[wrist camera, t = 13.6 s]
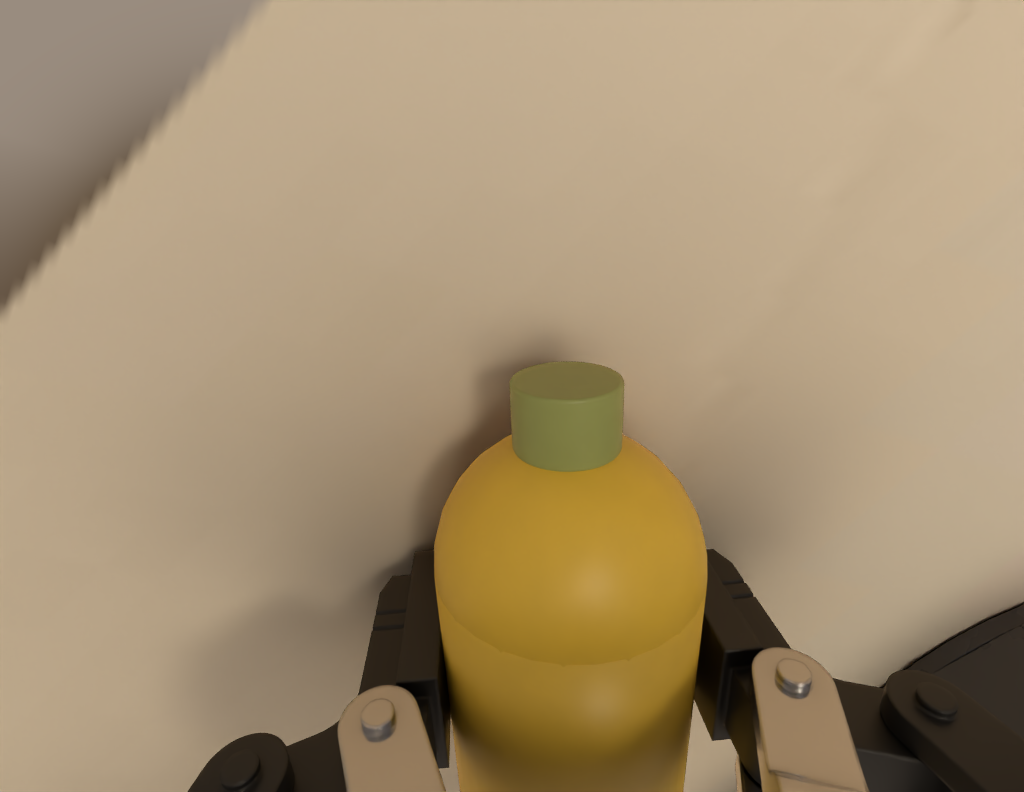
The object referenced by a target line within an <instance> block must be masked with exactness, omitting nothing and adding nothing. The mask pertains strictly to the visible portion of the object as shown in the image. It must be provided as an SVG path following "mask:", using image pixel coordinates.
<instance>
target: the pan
mask: <svg viewBox="0 0 1024 792" xmlns="http://www.w3.org/2000/svg"><path fill="white" fill-rule="evenodd" d="M906 670H917V671H923V672H927V673H930V674H933V675H935V676H938V677H940V678H942V679H944V680H947V681H948V682H950V683H952V684H953V685H955V686H957V687H958V688H960V689H961V690H962V691H964V692H965V693H966V694H968V695H969V696H970V697H971V698H973V699H974V700H975V701H976V702H978V703H979V704H980V705H981V706H983V707H984V708H985V709H987V710H988V711H989V712H990V713H992V714H993V715H994V716H995V717H997V718H998V719H999V720H1000V721H1002V722H1003V723H1004V724H1006V725H1007V726H1008V727H1009V728H1011V729H1012V730H1013V731H1014V732H1016V733H1017V734H1018V735H1019V736H1021V737H1022V738H1023V739H1024V605H1022V606H1019V607H1017V608H1015V609H1012V610H1010V611H1008V612H1005V613H1003V614H1001V615H998V616H996V617H994V618H992V619H989V620H987V621H985V622H983V623H981V624H979V625H978V626H976V627H974V628H972V629H970V630H968V631H966V632H964V633H963V634H961V635H959V636H957V637H955V638H953V639H951V640H950V641H948V642H946V643H945V644H943V645H942V646H940V647H939V648H937V649H936V650H934V651H932V652H931V653H929V654H928V655H926V656H925V657H923V658H922V659H920V660H919V661H917V662H915V663H914V664H913V665H912V666H910V667H909V668H908V669H906ZM883 688H884V689H885V687H883Z"/></svg>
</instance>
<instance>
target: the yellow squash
mask: <svg viewBox="0 0 1024 792" xmlns="http://www.w3.org/2000/svg"><path fill="white" fill-rule="evenodd" d="M509 386H510V407H511V428H512V434H511V435H509V436H507V437H505V438H504V439H502V440H501V441H499V442H498V443H496V444H495V445H493V446H492V447H490V448H489V449H487V450H486V451H484V452H483V453H481V454H480V455H479V456H478V457H477V458H476V459H475V460H474V462H473V463H472V464H471V465H470V466H469V467H468V468H467V469H466V471H465V472H464V473H463V474H462V475H461V476H460V478H459V479H458V481H457V483H456V484H455V486H454V488H453V490H452V492H451V494H450V495H449V497H448V499H447V501H446V503H445V505H444V507H443V510H442V514H441V519H440V523H439V527H438V531H437V535H436V539H435V543H434V579H435V587H436V595H437V604H438V612H439V620H440V628H441V637H442V645H443V653H444V661H445V670H446V678H447V686H448V695H449V703H450V711H451V719H452V728H453V736H454V744H455V752H456V761H457V769H458V777H459V785H460V792H683V787H684V779H685V770H686V762H687V753H688V744H689V736H690V727H691V719H692V710H693V701H694V693H695V684H696V676H697V667H698V658H699V650H700V641H701V633H702V624H703V615H704V607H705V598H706V589H707V551H706V546H705V540H704V535H703V532H702V528H701V524H700V521H699V517H698V514H697V512H696V510H695V508H694V507H693V505H692V503H691V501H690V499H689V497H688V495H687V493H686V492H685V490H684V488H683V486H682V484H681V482H680V481H679V480H678V479H677V478H676V477H675V476H674V475H673V473H672V472H671V471H670V470H669V469H668V468H667V467H666V466H665V465H664V464H663V462H662V461H661V460H660V459H659V458H658V457H657V456H656V455H654V454H653V453H652V452H650V451H649V450H648V449H646V448H645V447H643V446H642V445H640V444H639V443H637V442H635V441H634V440H632V439H631V438H629V437H627V436H625V435H623V434H622V432H623V406H624V380H623V378H622V376H621V375H620V374H619V373H618V372H616V371H614V370H612V369H610V368H608V367H604V366H601V365H597V364H592V363H585V362H551V363H544V364H539V365H535V366H531V367H528V368H525V369H523V370H521V371H519V372H517V373H516V374H514V375H513V377H512V378H511V380H510V383H509Z"/></svg>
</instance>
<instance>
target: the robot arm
mask: <svg viewBox="0 0 1024 792" xmlns="http://www.w3.org/2000/svg"><path fill="white" fill-rule="evenodd" d="M706 551H707V589H706V598H705V607H704V615H703V624H702V633H701V641H700V650H699V658H698V667H697V676H696V684H695V693H694V700H695V702H696V705H697V707H698V709H699V711H700V714H701V716H702V718H703V721H704V723H705V725H706V727H707V730H708V732H709V734H710V737H711V739H712V741H714V740H724V739H731V740H732V743H733V745H734V747H735V749H736V751H737V758H736V764H735V771H736V781H737V792H1024V739H1023V738H1022V737H1021V736H1019V735H1018V734H1017V733H1016V732H1014V731H1013V730H1012V729H1011V728H1009V727H1008V726H1007V725H1006V724H1004V723H1003V722H1002V721H1000V720H999V719H998V718H997V717H995V716H994V715H993V714H992V713H990V712H989V711H988V710H987V709H985V708H984V707H983V706H981V705H980V704H979V703H978V702H976V701H975V700H974V699H973V698H971V697H970V696H969V695H968V694H966V693H965V692H964V691H962V690H961V689H960V688H958V687H957V686H955V685H953V684H952V683H950V682H948V681H947V680H944V679H942V678H940V677H938V676H935V675H933V674H930V673H927V672H923V671H917V670H901V671H897V672H895V673H893V674H892V675H891V676H890V677H889V678H888V680H887V683H886V686H885V689H884V688H879V687H873V686H868V685H862V684H856V683H851V682H846V681H841V680H837V679H834V678H832V677H831V675H830V674H829V673H828V672H827V670H826V669H825V668H824V667H823V666H822V665H821V664H819V663H818V662H817V661H815V660H814V659H812V658H811V657H809V656H807V655H805V654H803V653H801V652H798V651H795V650H792V649H791V648H790V646H789V645H788V644H787V642H786V641H785V639H784V638H783V636H782V635H781V633H780V632H779V631H778V629H777V628H776V626H775V625H774V623H773V622H772V620H771V619H770V618H769V616H768V615H767V613H766V612H765V610H764V609H763V607H762V606H761V604H760V603H759V602H758V600H757V599H756V597H753V593H752V591H751V590H750V589H749V587H748V586H747V584H746V583H744V582H743V578H742V577H741V576H740V574H739V573H738V571H737V570H736V568H735V567H734V565H733V564H732V563H731V562H730V561H729V560H727V559H726V558H724V557H723V556H722V555H720V554H719V553H718V552H716V551H715V550H714V549H710V550H706ZM450 720H451V711H450V703H449V695H448V686H447V678H446V670H445V661H444V653H443V645H442V637H441V628H440V620H439V612H438V604H437V595H436V587H435V579H434V550H428V551H416V552H415V553H414V559H413V566H412V573H411V575H401V576H392V578H391V579H390V580H389V582H388V583H387V584H386V586H385V587H384V588H383V590H382V591H381V592H380V595H379V600H378V605H377V609H376V616H375V619H374V624H373V631H372V633H371V638H370V642H369V647H368V652H367V657H366V661H365V666H364V671H363V675H362V680H361V685H360V689H359V693H358V696H357V697H356V698H355V699H354V700H352V701H351V703H350V704H349V705H348V706H347V707H346V709H345V710H344V712H343V714H342V716H341V718H340V720H339V721H338V722H337V723H335V724H334V725H333V726H331V727H330V728H328V729H326V730H325V731H323V732H321V733H318V734H316V735H314V736H311V737H309V738H306V739H304V740H301V741H299V742H296V743H294V744H292V745H289V746H287V747H286V745H285V744H284V742H283V741H282V740H281V739H280V738H279V737H277V736H275V735H272V734H268V733H255V734H250V735H247V736H244V737H241V738H239V739H237V740H235V741H233V742H231V743H229V744H228V745H227V746H225V747H224V748H222V749H221V750H220V751H219V752H218V753H216V754H215V755H214V756H213V757H212V758H211V760H210V761H209V762H208V763H207V764H206V766H205V767H204V768H203V770H202V771H201V773H200V774H199V776H198V777H197V779H196V780H195V782H194V783H193V784H192V786H191V787H190V789H189V790H188V792H446V790H445V787H444V784H443V780H442V777H441V774H440V771H439V769H440V768H449V751H450Z"/></svg>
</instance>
